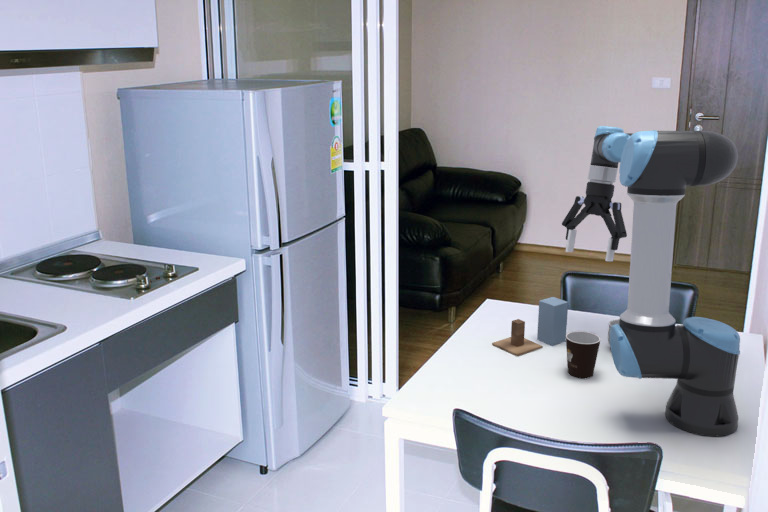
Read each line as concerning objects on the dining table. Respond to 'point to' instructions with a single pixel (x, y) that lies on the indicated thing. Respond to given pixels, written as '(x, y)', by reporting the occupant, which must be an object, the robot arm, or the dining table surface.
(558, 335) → the pale blue tall brick
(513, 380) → the dining table surface
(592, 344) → the coffee mug
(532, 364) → the dining table surface
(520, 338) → the square wooden base plate
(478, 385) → the dining table surface
